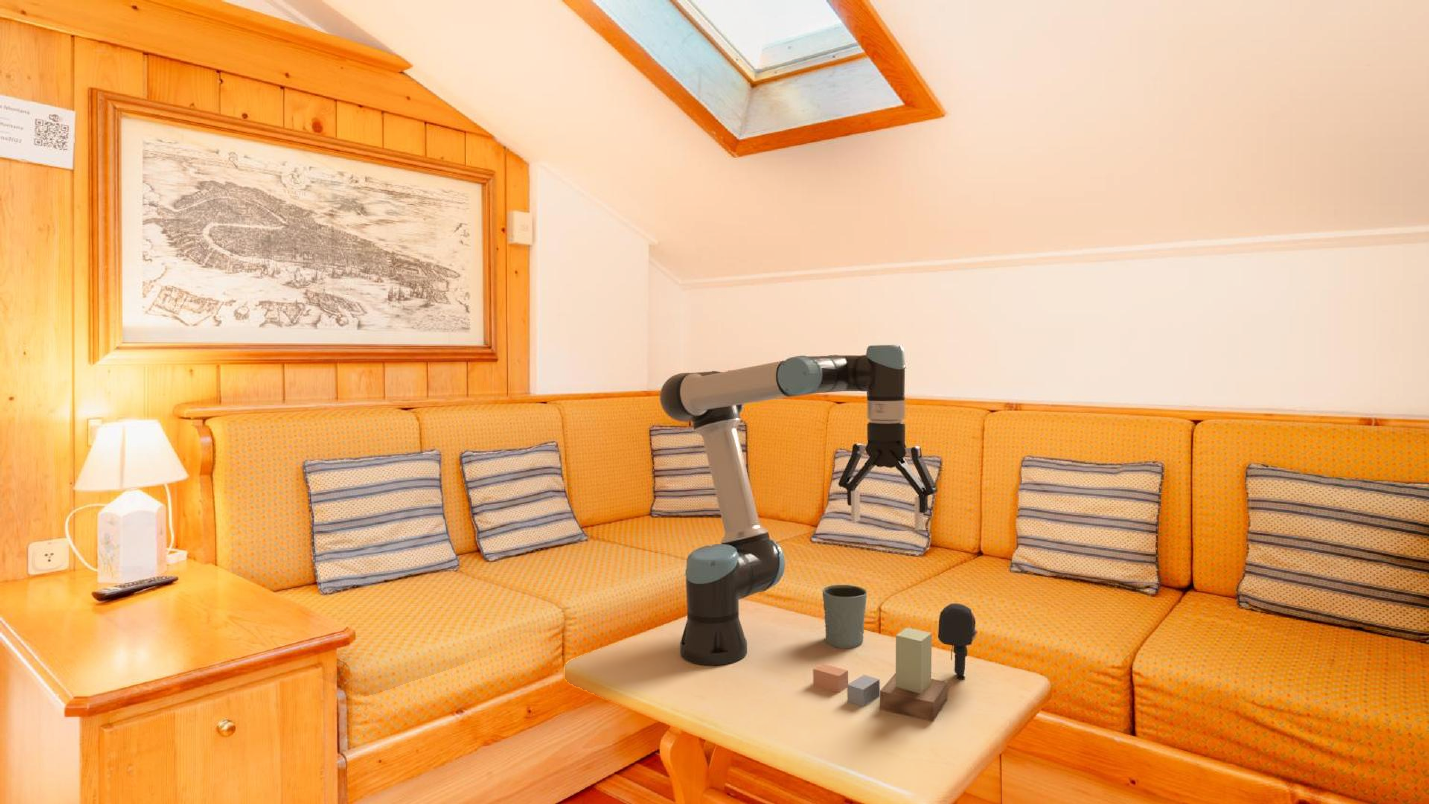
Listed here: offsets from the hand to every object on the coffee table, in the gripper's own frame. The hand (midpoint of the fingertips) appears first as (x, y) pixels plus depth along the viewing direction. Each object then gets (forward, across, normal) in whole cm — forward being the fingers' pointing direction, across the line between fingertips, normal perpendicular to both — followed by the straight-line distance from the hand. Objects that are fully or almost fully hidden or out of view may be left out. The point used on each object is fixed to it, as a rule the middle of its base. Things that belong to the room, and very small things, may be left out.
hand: (886, 525), depth 159 cm
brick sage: (+28, +9, -9) cm, 31 cm away
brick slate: (+32, 0, -12) cm, 34 cm away
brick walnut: (+32, +9, -9) cm, 35 cm away
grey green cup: (+32, -16, +14) cm, 38 cm away
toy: (+32, +12, +8) cm, 35 cm away
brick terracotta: (+32, -8, -10) cm, 34 cm away
